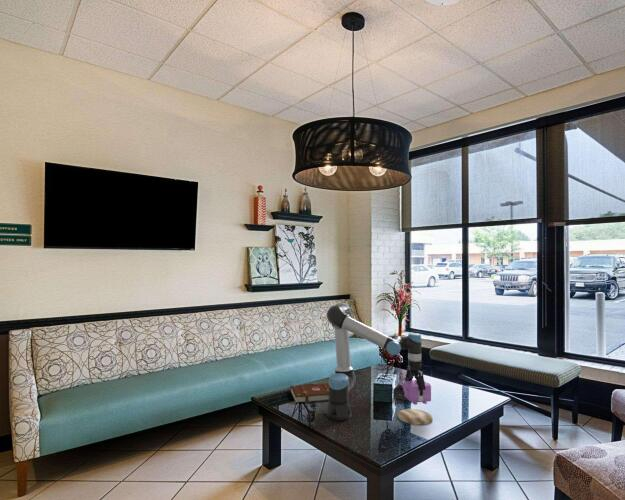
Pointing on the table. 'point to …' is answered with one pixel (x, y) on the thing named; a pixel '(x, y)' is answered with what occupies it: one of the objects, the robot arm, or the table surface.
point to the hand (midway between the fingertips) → (415, 397)
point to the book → (310, 392)
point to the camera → (399, 392)
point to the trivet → (415, 417)
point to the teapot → (416, 392)
